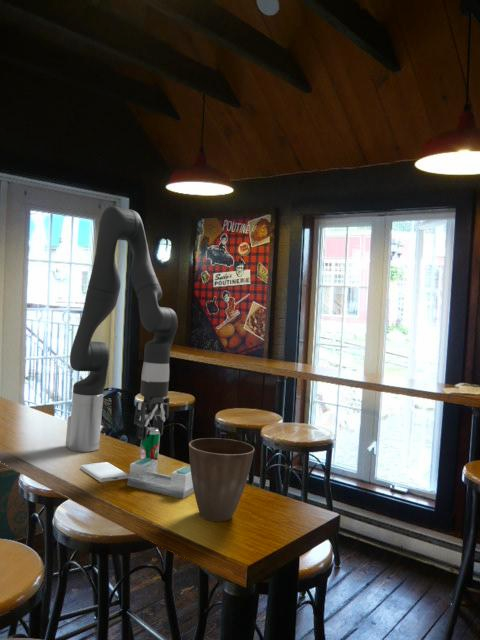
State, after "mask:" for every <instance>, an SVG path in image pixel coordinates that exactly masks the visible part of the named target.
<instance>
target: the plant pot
mask: <svg viewBox="0 0 480 640" xmlns="http://www.w3.org/2000/svg"><path fill="white" fill-rule="evenodd" d="M188 452H189V453H188V454H189V455H188V456H189V467H190V469H191V476H192V483H193V489H194V492H193V494H194V498H195V502H196V505H197V509H198V513H199V515H200V517H201V518H202V519H205V520H207V521H211V522H226V521H228V520H231V519H232V518H233V516H234V515H235V512H236V510H237V508H238V506H239V503H240V500H241V498H242V495H243V493H244V490H245V488H246V484H247V480H248V478H249V475H250V470H251V467H252V464H253V463H252V462H253V457H254V452H255V447H254V446H253V445H251V444H249V443H247V442H244V441H241V440H235V439H229V438H221V437H220V438H219V437H217V438H216V437H207V438H205V437H204V438H197V439H193V440H191V441H190V442H189V443H188Z"/></svg>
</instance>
